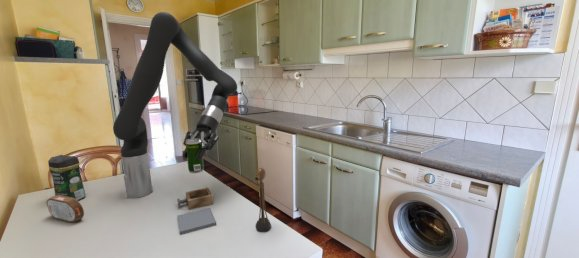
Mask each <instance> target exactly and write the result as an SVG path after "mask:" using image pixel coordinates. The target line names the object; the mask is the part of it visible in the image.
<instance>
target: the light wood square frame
mask: <svg viewBox="0 0 579 258" xmlns="http://www.w3.org/2000/svg"><path fill="white" fill-rule="evenodd" d="M185 196H186V197H185V198H184V199H180V198H177V199H176V200H177V201H176V202H177V207H181V204H186V203H187V206H188V210H189V211H190V210H193V209H199V208H203V207H207V206H211V205H214V202H213V201H214V199H213V194H212V192H211V190H210V188H209V186H208V187H204V188H198V189H194V190H189V191H185Z"/></svg>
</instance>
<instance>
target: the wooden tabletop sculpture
mask: <svg viewBox="0 0 579 258" xmlns="http://www.w3.org/2000/svg"><path fill="white" fill-rule="evenodd" d="M266 175H267V174H266V169H265V168H263V167H259V168H258V169H257V170H256V173H255V177H254V180H255V181H258V182H259V183H258V186H259V187H258V189H259V190H258V191H259V215H258V220H257V221H256V223H255V230H256V232H258V233H266V232H268V231H271V229H272V224H271V222H270V219H269V218H268V214H267V209H266V202H265V199H266V198H265V184H264V182H263V181H264V180H265V178H266Z"/></svg>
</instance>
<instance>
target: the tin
mask: <svg viewBox="0 0 579 258" xmlns="http://www.w3.org/2000/svg"><path fill="white" fill-rule="evenodd" d="M46 207H47V209H48V212H49V215H51V216H52V217H53V218H54V219H56V220H60V221H63V222H64V221H65V222H69V223H75V222H77V221H79V220H81V219H83V217H84V216H85V211H84V208H83V206H82V204H81V202H80V201H77V200H76V199H75V198H72V197H67V196H62V195H55V194H54V196H51V197H50V198H48V199H47V200H46Z"/></svg>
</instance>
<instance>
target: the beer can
mask: <svg viewBox="0 0 579 258" xmlns="http://www.w3.org/2000/svg"><path fill="white" fill-rule="evenodd" d="M200 148H201V140H200V138H192V139H187V140H186V146H185V149H186V152H187V158H186V159H187V160H186V161H187V168H188V172H189V173H190V174H199V173H201V172H203V171H204V169H205V167H204V166H205V165H204V156H203V157H202V158H201V160H198V159H197V158H196V155H197V153H198V151H199V149H200Z"/></svg>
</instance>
